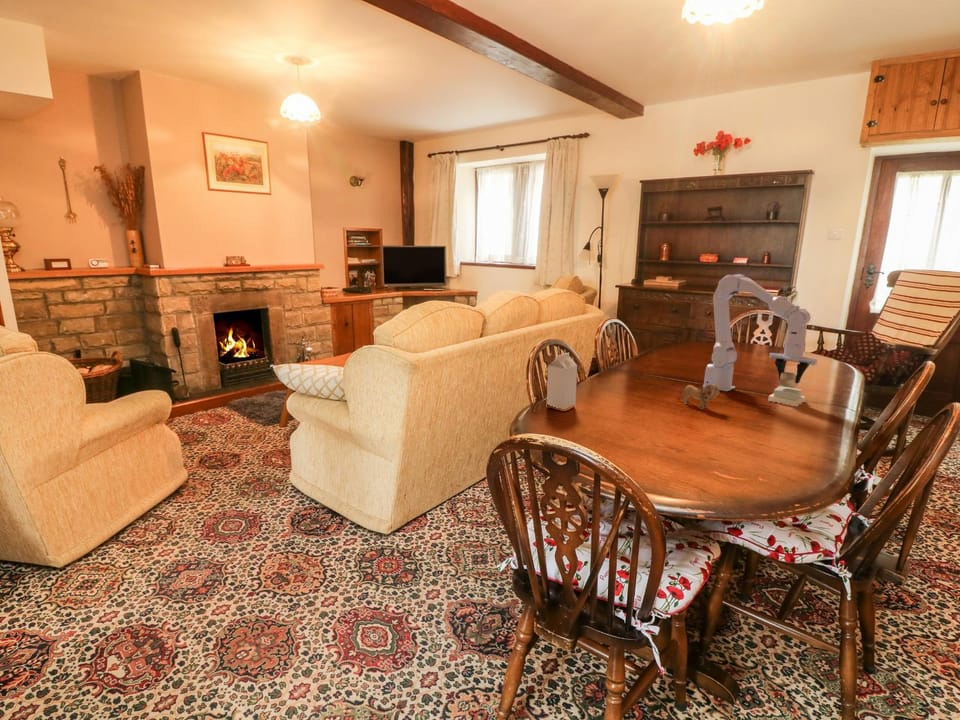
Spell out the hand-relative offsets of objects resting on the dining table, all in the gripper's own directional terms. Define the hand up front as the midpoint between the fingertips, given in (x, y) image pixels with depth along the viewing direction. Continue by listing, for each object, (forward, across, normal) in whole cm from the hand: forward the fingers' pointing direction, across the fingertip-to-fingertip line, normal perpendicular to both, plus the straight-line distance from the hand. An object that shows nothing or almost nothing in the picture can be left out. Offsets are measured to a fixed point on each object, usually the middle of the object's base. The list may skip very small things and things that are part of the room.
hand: (789, 381), depth 176 cm
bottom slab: (+8, 0, 0) cm, 8 cm away
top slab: (+6, 0, 0) cm, 6 cm away
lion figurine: (+8, -19, -29) cm, 36 cm away
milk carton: (+8, -49, -67) cm, 83 cm away
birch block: (+2, 0, 0) cm, 2 cm away
